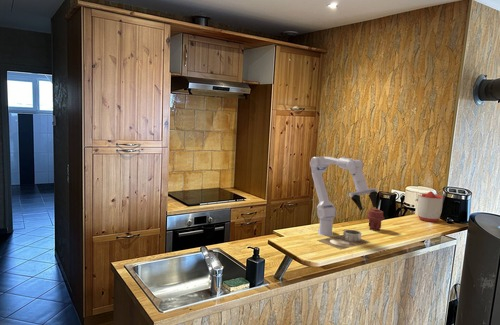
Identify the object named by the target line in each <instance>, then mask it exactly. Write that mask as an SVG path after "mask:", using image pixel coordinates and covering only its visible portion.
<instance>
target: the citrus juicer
mask: <svg viewBox="0 0 500 325" xmlns="http://www.w3.org/2000/svg"><path fill="white" fill-rule="evenodd" d="M415 202H417V204H416V205H417V208H416V209H417V210H416V211H417V216H418V219H419V220H420V221H425V222H428V223H436V222H438V221H439V220H440V218H441V214H442V211H443V202H444V196H442V195H440V194H435V193H434V192H433V191H428V192H427V193H421V195H420V194H417V198H416V199H415Z"/></svg>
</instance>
